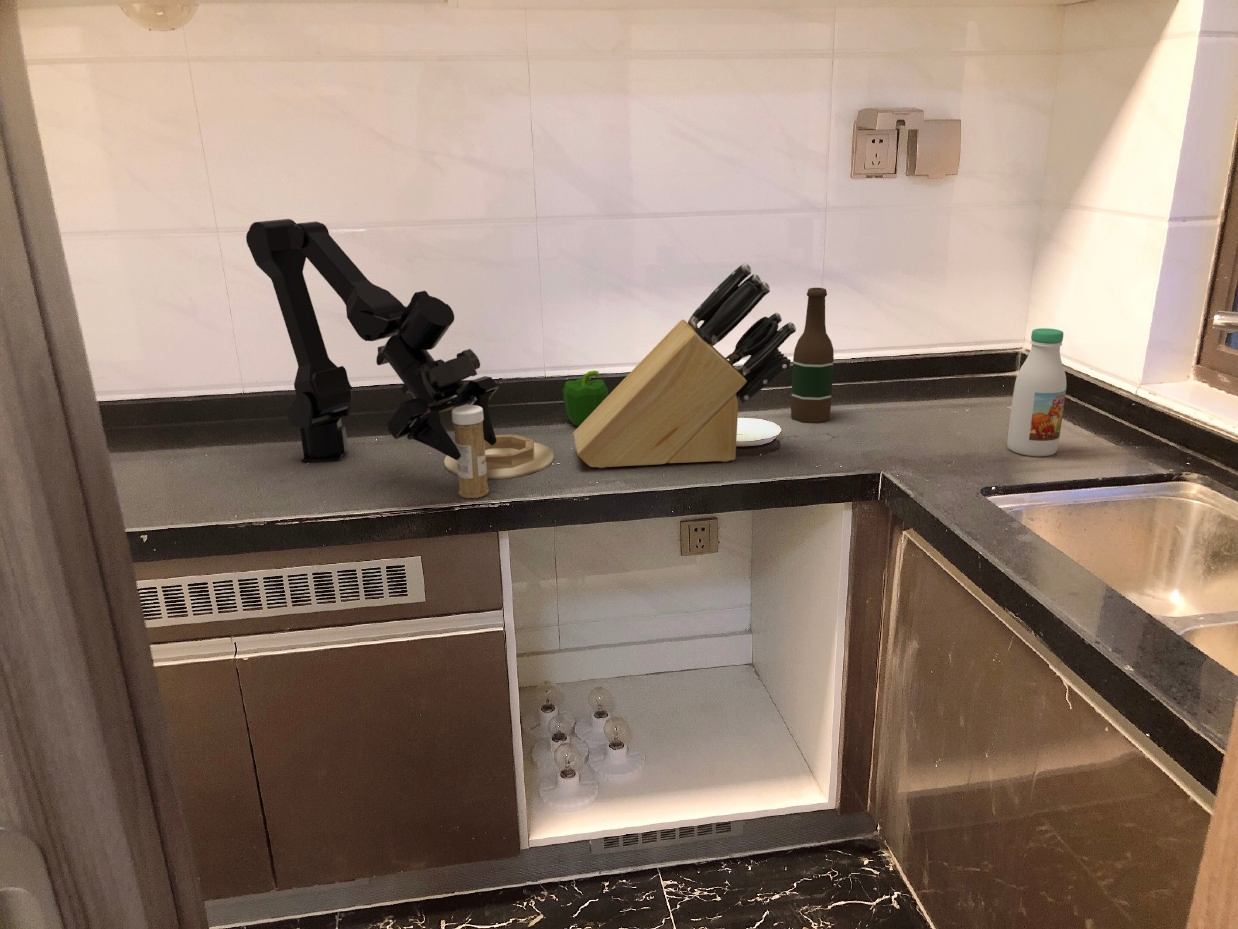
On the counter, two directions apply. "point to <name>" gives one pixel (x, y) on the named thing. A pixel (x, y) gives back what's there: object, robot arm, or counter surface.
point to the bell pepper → (583, 397)
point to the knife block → (689, 386)
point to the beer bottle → (813, 365)
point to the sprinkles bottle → (470, 451)
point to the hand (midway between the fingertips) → (477, 450)
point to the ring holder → (511, 457)
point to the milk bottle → (1039, 397)
